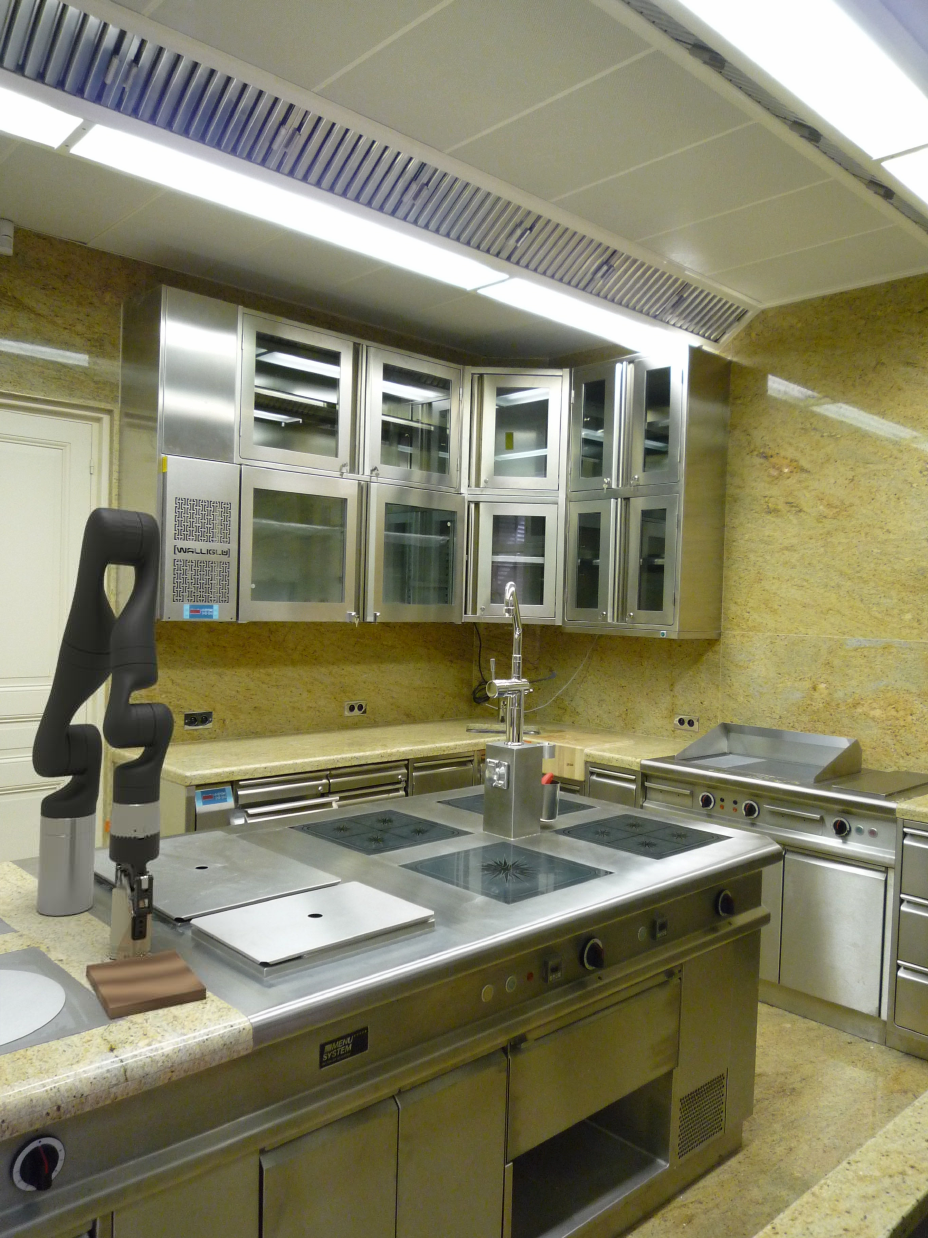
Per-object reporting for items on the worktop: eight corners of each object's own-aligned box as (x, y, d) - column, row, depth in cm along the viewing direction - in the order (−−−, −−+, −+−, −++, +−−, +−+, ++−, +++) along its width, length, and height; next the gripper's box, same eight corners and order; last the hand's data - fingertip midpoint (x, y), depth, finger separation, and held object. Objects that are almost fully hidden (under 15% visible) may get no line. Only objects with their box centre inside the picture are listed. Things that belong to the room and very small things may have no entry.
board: (85, 975, 131) (86, 965, 131) (173, 959, 139) (174, 950, 139) (110, 1019, 118) (110, 1008, 118) (205, 998, 125) (206, 988, 125)
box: (132, 963, 137) (135, 892, 137) (107, 959, 138) (110, 889, 138) (151, 950, 142) (154, 882, 142) (127, 947, 143) (129, 879, 143)
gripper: (100, 821, 143) (97, 921, 143) (121, 841, 132) (117, 950, 132) (147, 817, 148) (144, 913, 148) (172, 836, 136) (168, 941, 136)
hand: (131, 930), depth 140 cm, fingers open, 8 cm apart
